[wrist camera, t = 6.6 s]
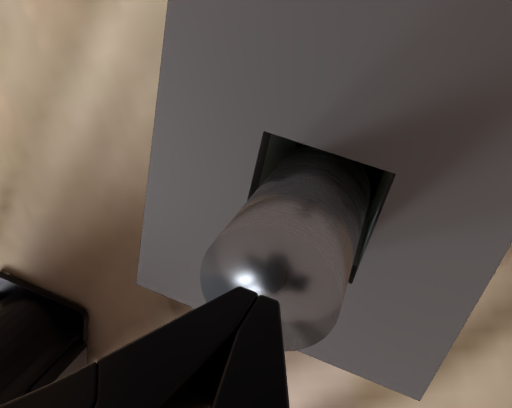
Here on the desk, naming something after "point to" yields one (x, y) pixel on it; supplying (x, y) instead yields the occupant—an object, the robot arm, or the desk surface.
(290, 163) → the inner peg
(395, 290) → the press block
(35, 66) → the desk surface
